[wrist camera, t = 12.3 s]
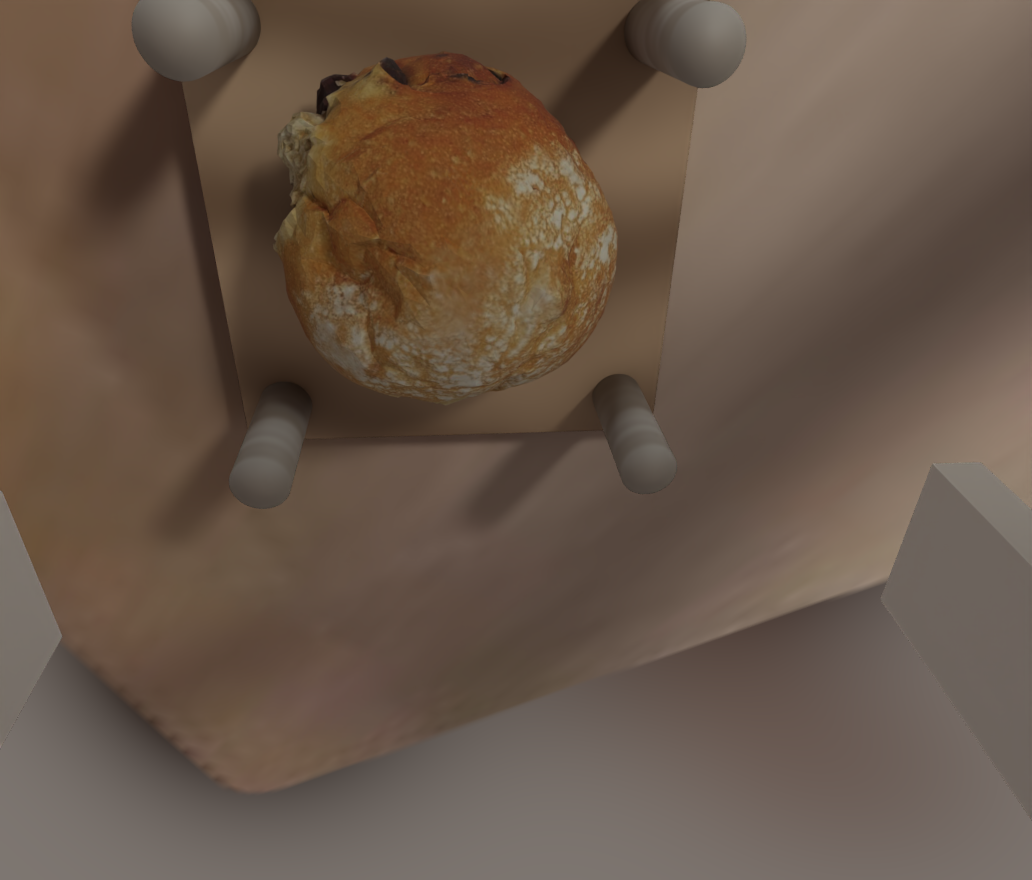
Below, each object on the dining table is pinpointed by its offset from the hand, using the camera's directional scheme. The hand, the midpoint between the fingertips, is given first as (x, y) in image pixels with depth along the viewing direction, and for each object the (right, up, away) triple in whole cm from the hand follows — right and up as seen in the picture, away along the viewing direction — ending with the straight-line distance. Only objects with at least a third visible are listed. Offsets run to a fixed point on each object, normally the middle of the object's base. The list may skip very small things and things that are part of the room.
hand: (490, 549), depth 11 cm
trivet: (-2, +9, +14) cm, 17 cm away
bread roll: (-2, +9, +13) cm, 16 cm away
